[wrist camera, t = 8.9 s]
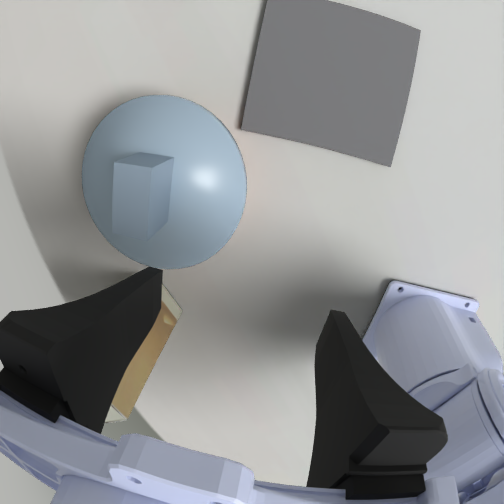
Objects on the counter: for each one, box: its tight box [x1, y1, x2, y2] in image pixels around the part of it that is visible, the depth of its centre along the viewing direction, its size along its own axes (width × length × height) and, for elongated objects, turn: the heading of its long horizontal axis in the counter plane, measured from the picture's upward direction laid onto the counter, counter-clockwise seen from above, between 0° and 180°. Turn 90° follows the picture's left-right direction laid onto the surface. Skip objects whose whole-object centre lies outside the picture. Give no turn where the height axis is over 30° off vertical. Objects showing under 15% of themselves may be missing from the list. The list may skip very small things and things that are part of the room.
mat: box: [241, 0, 421, 167], centre depth 17 cm, size 10×10×1 cm
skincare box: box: [104, 284, 182, 424], centre depth 22 cm, size 6×4×12 cm
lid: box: [82, 95, 247, 269], centre depth 17 cm, size 11×11×4 cm
